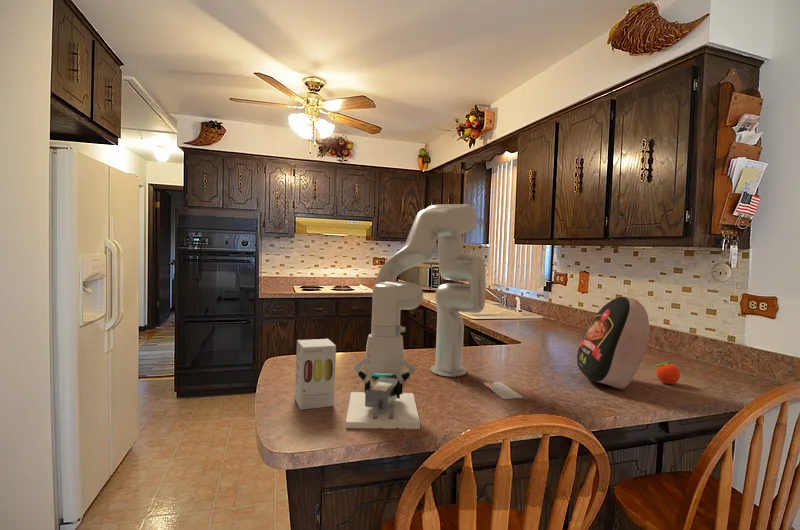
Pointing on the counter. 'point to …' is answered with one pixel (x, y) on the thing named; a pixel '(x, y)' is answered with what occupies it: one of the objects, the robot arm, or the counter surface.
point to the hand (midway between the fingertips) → (383, 396)
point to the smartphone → (505, 391)
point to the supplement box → (315, 373)
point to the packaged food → (615, 343)
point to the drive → (381, 393)
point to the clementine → (667, 373)
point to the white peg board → (383, 413)
